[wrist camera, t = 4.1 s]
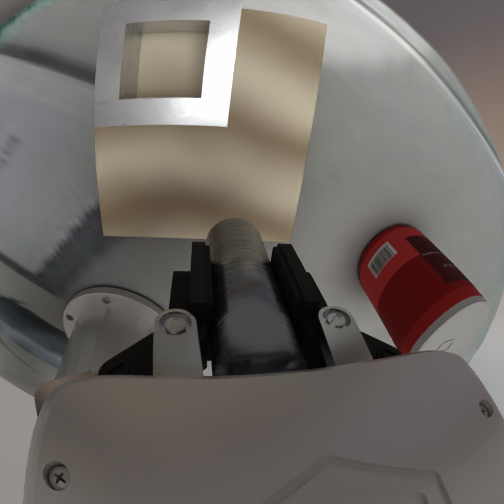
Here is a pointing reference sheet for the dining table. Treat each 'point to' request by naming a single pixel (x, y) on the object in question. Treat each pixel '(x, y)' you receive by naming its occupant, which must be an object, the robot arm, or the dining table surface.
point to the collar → (128, 56)
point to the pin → (248, 306)
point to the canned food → (420, 293)
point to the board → (216, 136)
